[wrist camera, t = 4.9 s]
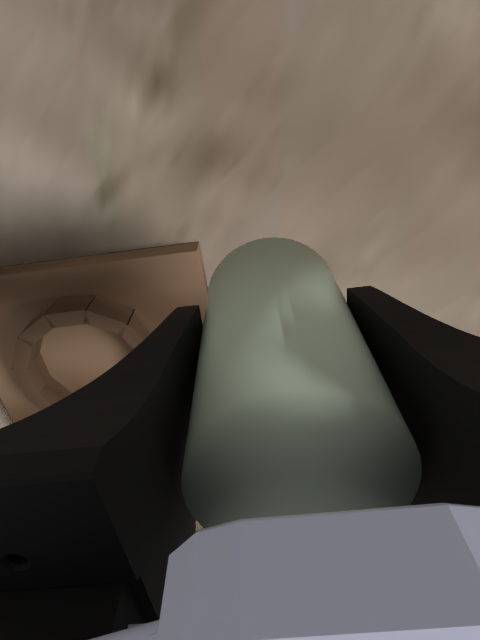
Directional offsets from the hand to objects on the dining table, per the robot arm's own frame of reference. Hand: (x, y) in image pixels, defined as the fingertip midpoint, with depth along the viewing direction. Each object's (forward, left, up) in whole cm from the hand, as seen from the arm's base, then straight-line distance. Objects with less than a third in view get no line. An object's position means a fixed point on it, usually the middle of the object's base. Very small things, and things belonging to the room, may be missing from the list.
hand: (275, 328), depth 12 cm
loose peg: (0, 0, -2) cm, 2 cm away
